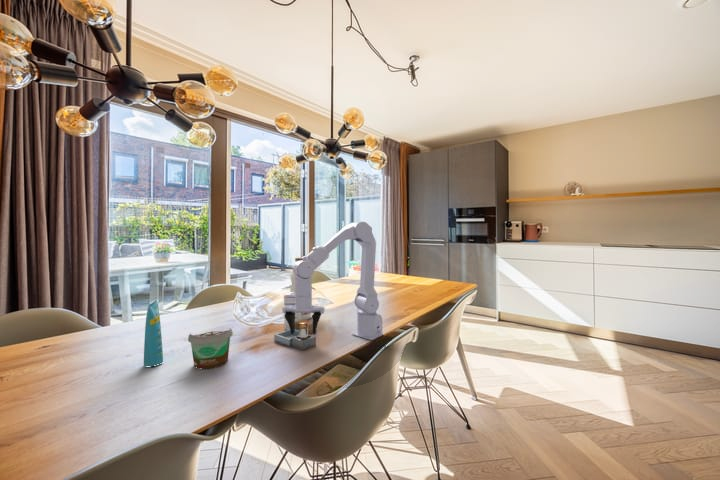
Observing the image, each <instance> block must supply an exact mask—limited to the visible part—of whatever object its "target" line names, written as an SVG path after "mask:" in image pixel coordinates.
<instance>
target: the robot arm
mask: <svg viewBox="0 0 720 480" xmlns="http://www.w3.org/2000/svg"><path fill="white" fill-rule="evenodd" d="M348 240H353V241H355V242H357V243H358V244H359V245H360V246H361V259H360V279H359V281H360V282H359V287H358V288H357V291H356V296H355V297H354V301H353V302H354V306H355V307H356V308H357V311H356V313H357V314H356V315H357V316H356V317H357V319H356V321H357V324H356V328H357V330H356V331H355V332H353V333H352V336H356V337H359V338H363V339H367V340H370V341H373V340H376V339H377V338H380V337H382V336H383V335H384V332H383V317H382V315H381V314H378V313H377V311H378V310H379V308H380V301H379V298H378V292H377V291H376V289H375V271H376V250H377V248H376V247H377V241H376V238H375V236H374V234H373V227H372V226H371V225H370V224H369V223H367V222H365V221H357V222H354V221H352V222H349V223H348V224H347V225H345V226H343V227H342V228H341V229H340V230H339V231H338V232H337V233H336V234H335V235H334V236H333V237H331V238H330V239H329V240H328V241H327V242H326V243H325V244H324V245H317V246H314V247H312V248H311V249H312V250H311V251H310V252H309V253H308V254H307V255H306V256H305V255H304V256H302V259H303V260H300V261H298V262H295V263H294V265H293V268H292V272H294V273H295V306H284V305H283V307H282V309H281V311H282V314H284V313H286V314H285V318H286V320H287V322H288V324H289V327H290V330H291V334H293V333H294V332H295V313H311V318H312V321H313V333H312V335H316V333H317V327H318V324H319V322H320V318H321V316H322V315H323V314H325V306H319V305H318V306H316V305H313V304H312V303H313V301H312V285H313V284H312V276H313V275H314V274H315V270H317V269H318V267H320V266H321V265H322V264H323V263H324V262H326V261H327V260H328V259H329V258H330V257H329V256H330V253H331V252H332V251H333V250H335V249H336V248H338V247H339V246H340V245H341V244H343V243H344V242H346V241H348Z"/></svg>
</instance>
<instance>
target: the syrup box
mask: <svg viewBox="0 0 720 480" xmlns="http://www.w3.org/2000/svg"><path fill="white" fill-rule="evenodd" d="M284 306H295V292H290V291H289V292H287V293H285V294H284V295H283V307H284ZM285 314H286V313H283V316H284V317H283V319H284V322H283V323H284V331H287V330H290V327H289V324H288V322H287V320H286V318H285ZM299 320H301V313H295V322H296V321H299Z"/></svg>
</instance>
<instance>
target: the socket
mask: <svg viewBox="0 0 720 480" xmlns="http://www.w3.org/2000/svg"><path fill="white" fill-rule="evenodd" d="M316 345H317V337H316V336H314V335H313V334H312V335H311V334H308V338H307V339H305V340H301V339H299V335H298V336H295V337H292V338H291V346H290V347H293V348H295V349H298V350H302V351H304V350H308V349H310V348H311V347H314V346H316Z"/></svg>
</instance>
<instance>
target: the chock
mask: <svg viewBox="0 0 720 480" xmlns="http://www.w3.org/2000/svg"><path fill="white" fill-rule="evenodd" d="M300 322H308V334H309V335H311V334H313V320H310V319H302V320H299V321H296V322H295V330H299V323H300Z"/></svg>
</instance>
